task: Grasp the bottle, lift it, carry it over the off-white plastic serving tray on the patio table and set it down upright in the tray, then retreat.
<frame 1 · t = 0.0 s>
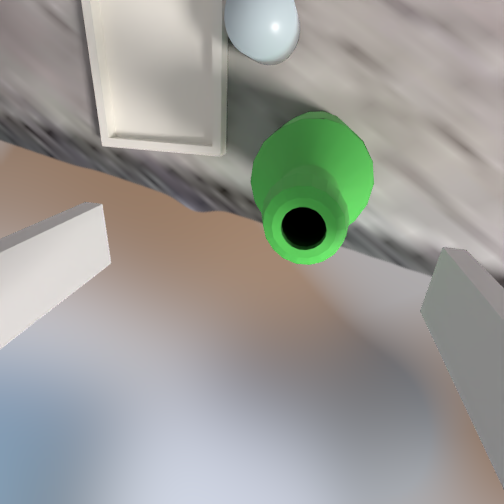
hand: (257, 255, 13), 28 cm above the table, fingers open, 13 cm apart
tray: (163, 65, 36), on the table
bottle: (314, 151, 37), on the table
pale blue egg: (270, 31, 33), on the table
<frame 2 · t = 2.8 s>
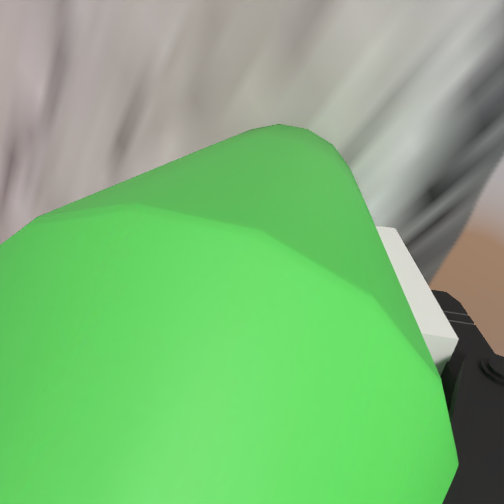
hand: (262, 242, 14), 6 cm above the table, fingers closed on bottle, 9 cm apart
bottle: (280, 199, 20), on the table, touching gripper
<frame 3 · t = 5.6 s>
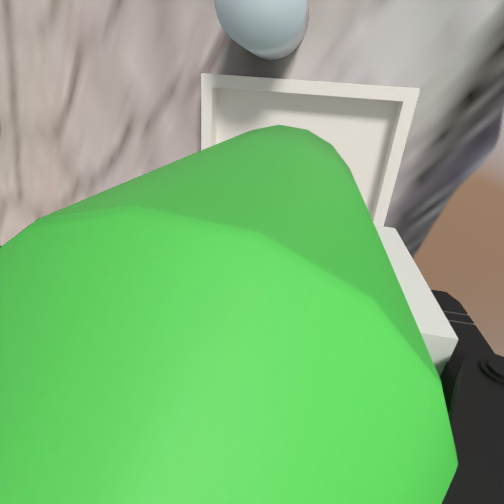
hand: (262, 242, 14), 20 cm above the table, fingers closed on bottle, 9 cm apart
tray: (295, 167, 32), on the table
bottle: (280, 200, 20), point 14 cm above the table, touching gripper
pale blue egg: (273, 19, 27), on the table
when the fingers open (8 cm above the table, at t = 8.4 s): bottle drops 1 cm, resting on tray.
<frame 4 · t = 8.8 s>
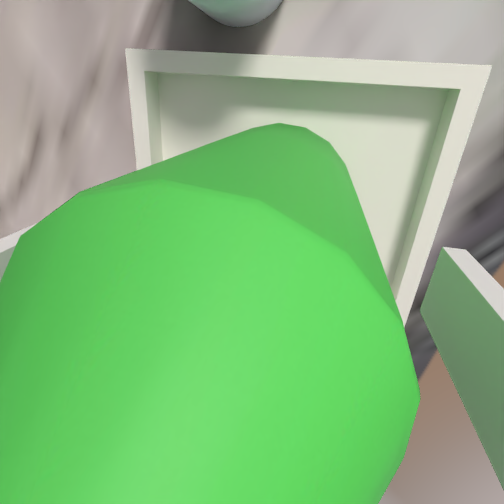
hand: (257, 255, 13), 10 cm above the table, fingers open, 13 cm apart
tray: (283, 192, 21), on the table
bottle: (279, 194, 21), point 1 cm above the table, touching tray
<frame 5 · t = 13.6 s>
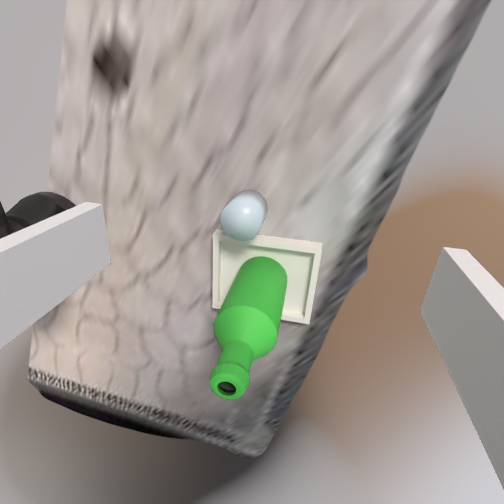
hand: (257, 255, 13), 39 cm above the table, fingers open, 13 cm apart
tray: (264, 274, 58), on the table
bottle: (263, 275, 57), point 1 cm above the table, touching tray
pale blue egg: (249, 207, 53), on the table
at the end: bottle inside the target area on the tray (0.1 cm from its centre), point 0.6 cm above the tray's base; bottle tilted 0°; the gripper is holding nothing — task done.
